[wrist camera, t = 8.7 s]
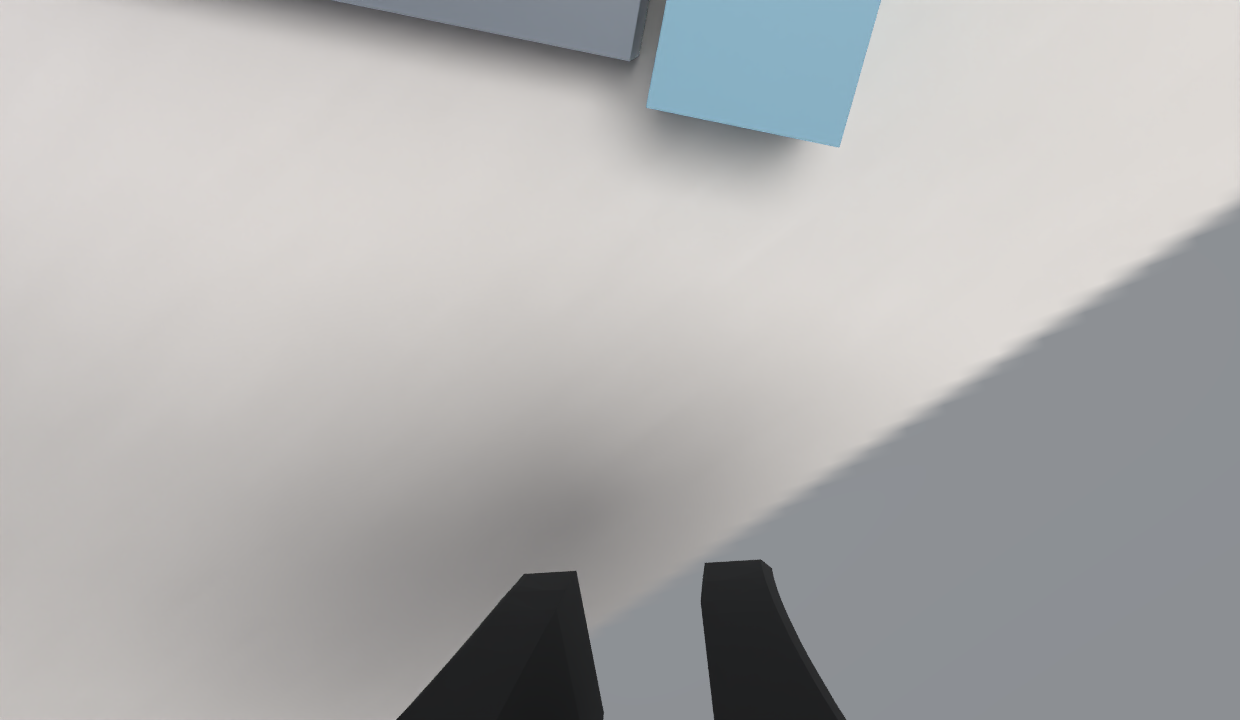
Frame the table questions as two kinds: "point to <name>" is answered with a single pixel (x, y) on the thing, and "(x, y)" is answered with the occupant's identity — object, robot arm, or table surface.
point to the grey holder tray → (538, 20)
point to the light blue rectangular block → (763, 63)
